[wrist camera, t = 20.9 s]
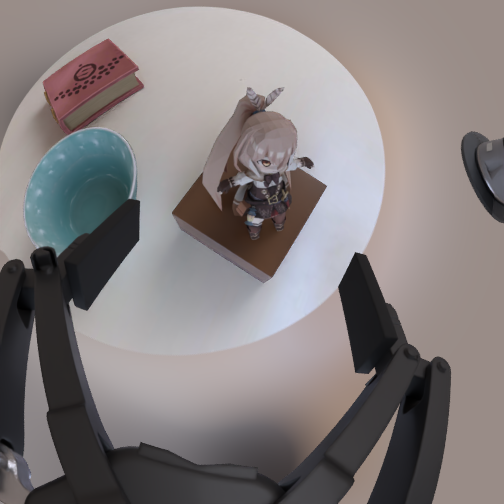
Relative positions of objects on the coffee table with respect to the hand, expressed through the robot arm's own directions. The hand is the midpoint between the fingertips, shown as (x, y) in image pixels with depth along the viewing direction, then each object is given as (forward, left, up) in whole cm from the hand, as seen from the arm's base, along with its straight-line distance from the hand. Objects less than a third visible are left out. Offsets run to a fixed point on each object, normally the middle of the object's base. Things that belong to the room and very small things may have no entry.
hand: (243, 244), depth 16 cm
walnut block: (+3, -7, -17) cm, 19 cm away
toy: (+3, -7, -11) cm, 14 cm away
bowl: (+20, +3, -17) cm, 26 cm away
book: (+39, -12, -17) cm, 44 cm away
